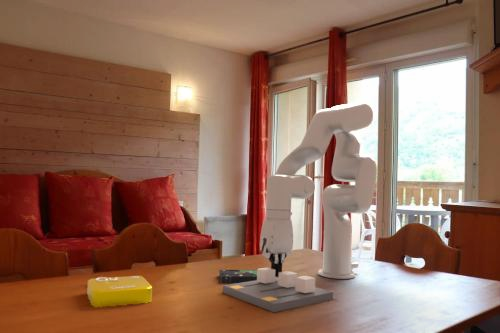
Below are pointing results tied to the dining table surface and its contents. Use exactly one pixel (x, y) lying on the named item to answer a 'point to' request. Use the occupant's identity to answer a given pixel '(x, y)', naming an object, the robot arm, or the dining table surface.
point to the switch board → (275, 295)
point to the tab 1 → (266, 275)
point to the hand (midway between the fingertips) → (276, 275)
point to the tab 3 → (305, 284)
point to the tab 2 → (287, 279)
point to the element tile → (118, 291)
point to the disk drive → (237, 276)
